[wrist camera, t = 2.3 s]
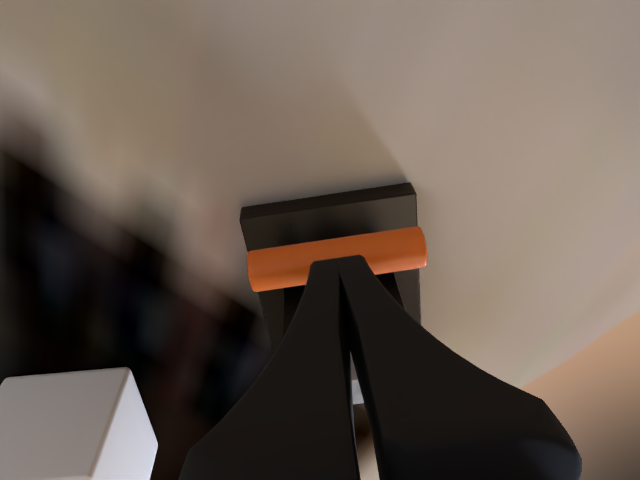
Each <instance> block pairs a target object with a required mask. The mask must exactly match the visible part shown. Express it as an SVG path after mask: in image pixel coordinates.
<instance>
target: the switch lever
mask: <svg viewBox="0 0 640 480" xmlns="http://www.w3.org/2000/svg"><path fill="white" fill-rule="evenodd" d="M353 255H362V256H363V257H364V258H365V260H366V262H367V263H368V265H369V267H370V268H371V270H372V271H373V273H374V274H375V275H376V274H383V273H390V272H397V271H404V270H411V269H418V268H424V267H425V266H426V264H427V249H426V242H425V238H424V234H423V232H422V230H421V228H420V227H418V226H415V227H409V228H402V229H395V230H388V231H381V232H375V233H368V234H361V235H354V236H347V237H340V238H334V239H327V240H320V241H313V242H306V243H299V244H293V245H286V246H279V247H272V248H265V249H259V250H252V251H249V252H248V254H247V271H248V277H249V282H250V285H251V288H252V290H253V291H254V292H259V291H266V290H273V289H280V288H287V287H294V286H300V285H306V283H307V279H308V275H309V270H310V265H311V264H312V263H313V262H314V261H319V260H326V259H332V258H339V257H346V256H353ZM350 353H351V352H350ZM351 374H352V396H353V404H359V403H364V401H363V397H362V393H361V389H360V386H359V382H358V378H357V374H356V371H355V367H354V363H353V359H352V355H351Z"/></svg>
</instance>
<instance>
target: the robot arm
mask: <svg viewBox="0 0 640 480" xmlns="http://www.w3.org/2000/svg"><path fill="white" fill-rule="evenodd" d="M350 352H351V353H350ZM351 355H352V359H353V363H354V367H355V371H356V374H357V378H358V382H359V386H360V389H361V393H362V397H363V401H364V405H365V408H366V412H367V416H368V420H369V423H370V428H371V432H372V437H373V442H374V448H375V454H376V460H377V466H378V472H379V478H380V480H580V476H581V472H582V459H581V457H580V455H579V453H578V451H577V449H576V446H575V445H574V443H573V441H572V439H571V437H570V436H569V434H568V433H567V431H566V430H565V428H564V427H563V426H562V424H561V423H560V422H559V420H558V419H557V418H556V416H555V415H554V414H553V412H552V411H551V410H550V408H549V407H548V406H547V405H546V403H545V402H544V401H543V400H542V399H540V398H538V397H535V396H533V395H531V394H529V393H527V392H525V391H522V390H520V389H518V388H516V387H514V386H512V385H510V384H507V383H505V382H503V381H501V380H499V379H498V378H496V377H494V376H492V375H490V374H488V373H487V372H485V371H483V370H481V369H479V368H478V367H476V366H475V365H473V364H472V363H470V362H469V361H467V360H466V359H464V358H463V357H461V356H459V355H458V354H456V353H455V352H453V351H452V350H451V349H449V348H448V347H447V346H445V345H444V344H443V343H441V342H440V341H439V340H437V339H436V338H435V337H434V336H433V335H431V334H430V333H429V332H428V331H427V330H425V329H424V328H423V327H422V326H421V325H420V324H419V323H418V322H417V321H416V320H414V319H413V318H412V317H411V316H410V315H409V314H408V313H407V312H406V311H405V310H404V309H403V308H402V306H401V305H400V304H399V303H398V302H397V301H396V300H395V299H394V298H393V297H392V295H391V294H390V293H389V292H388V291H387V290H386V288H385V287H384V286H383V285H382V283H381V282H380V281H379V279H378V278H377V277H376V275H375V274H374V273H373V271H372V270H371V268H370V267H369V265H368V263H367V262H366V260H365V258H364V257H363V256H362V255H353V256H346V257H339V258H332V259H326V260H319V261H314V262H313V263H312V264H311V265H310V270H309V275H308V279H307V283H306V286H305V289H304V292H303V295H302V297H301V300H300V302H299V305H298V307H297V310H296V312H295V314H294V317H293V319H292V321H291V323H290V325H289V327H288V329H287V331H286V333H285V335H284V337H283V339H282V340H281V342H280V344H279V346H278V347H277V349H276V351H275V352H274V354H273V356H272V357H271V359H270V360H269V362H268V363H267V365H266V366H265V368H264V369H263V370H262V372H261V373H260V375H259V376H258V377H257V379H256V380H255V382H254V383H253V384H252V386H251V387H250V388H249V389H248V391H247V392H246V393H245V394H244V395H243V396H242V398H241V399H240V400H239V401H238V402H237V403H236V404H235V406H234V407H233V408H232V409H231V410H230V411H229V412H228V413H227V415H226V416H225V417H224V418H223V419H222V420H221V421H220V422H219V423H218V424H217V425H216V426H215V427H214V428H213V429H211V430H210V431H209V432H208V433H207V434H206V435H205V436H204V437H203V438H202V439H201V440H200V441H199V442H198V443H196V444H195V445H194V446H193V447H192V448H191V449H190V450H189V452H188V454H187V457H186V460H185V462H184V465H183V468H182V471H181V474H180V477H179V480H361V479H360V472H359V465H358V458H357V450H356V443H355V433H354V418H353V396H352V374H351Z"/></svg>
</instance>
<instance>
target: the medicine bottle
mask: <svg viewBox="0 0 640 480" xmlns="http://www.w3.org/2000/svg"><path fill="white" fill-rule="evenodd" d="M157 448H158V442H157V440H156V437H155V434H154V432H153V429H152V426H151V423H150V421H149V418H148V415H147V412H146V410H145V407H144V404H143V402H142V399H141V396H140V393H139V391H138V388H137V385H136V382H135V380H134V377H133V374H132V372H131V370H130V369H129V368H127V367H120V368H109V369H97V370H86V371H74V372H63V373H51V374H40V375H28V376H17V377H8V378H6V379H5V380H4V381H3V382H2V383H1V385H0V480H150V476H151V472H152V468H153V464H154V460H155V456H156V452H157Z"/></svg>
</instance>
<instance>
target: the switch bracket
mask: <svg viewBox="0 0 640 480" xmlns="http://www.w3.org/2000/svg"><path fill="white" fill-rule="evenodd" d="M240 224H241V228H242V232H243V236H244V240H245V244H246V247H247V251H248V252H249V251H252V250H259V249H265V248H272V247H279V246H286V245H293V244H299V243H306V242H313V241H320V240H327V239H334V238H340V237H347V236H354V235H361V234H368V233H375V232H381V231H388V230H395V229H402V228H409V227H415V226H417V200H416V192H415V190H414V188H413V186H412V184H411V183H403V184H396V185H389V186H383V187H376V188H369V189H362V190H356V191H349V192H342V193H335V194H329V195H322V196H315V197H309V198H302V199H295V200H288V201H282V202H275V203H268V204H261V205H255V206H248V207H242V208H241V214H240ZM376 277H377V278H378V279H379V281H380V282H381V283H382V285H383V286H384V287H385V288H386V290H387V291H388V292H389V293H390V294H391V295H392V297H393V298H394V299H395V300H396V301H397V302H398V303H399V304H400V305H401V306H402V308H403V309H404V310H405V311H406V312H407V313H408V314H409V315H410V316H411V317H412V318H413V319H414V320H416V321H417V322H418V323H419V324H420V325H421V310H420V282H419V268H418V269H411V270H404V271H397V272H390V273H383V274H376ZM305 286H306V285H300V286H294V287H287V288H280V289H273V290H266V291H259V292H258V295H259V299H260V303H261V307H262V310H263V314H264V318H265V322H266V326H267V330H268V334H269V338H270V342H271V346H272V350H273V354H274V352H275V351H276V349H277V347H278V346H279V344H280V342H281V340H282V339H283V337H284V335H285V333H286V331H287V329H288V327H289V325H290V323H291V321H292V319H293V317H294V314H295V312H296V310H297V307H298V305H299V302H300V300H301V297H302V295H303V292H304V289H305Z"/></svg>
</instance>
